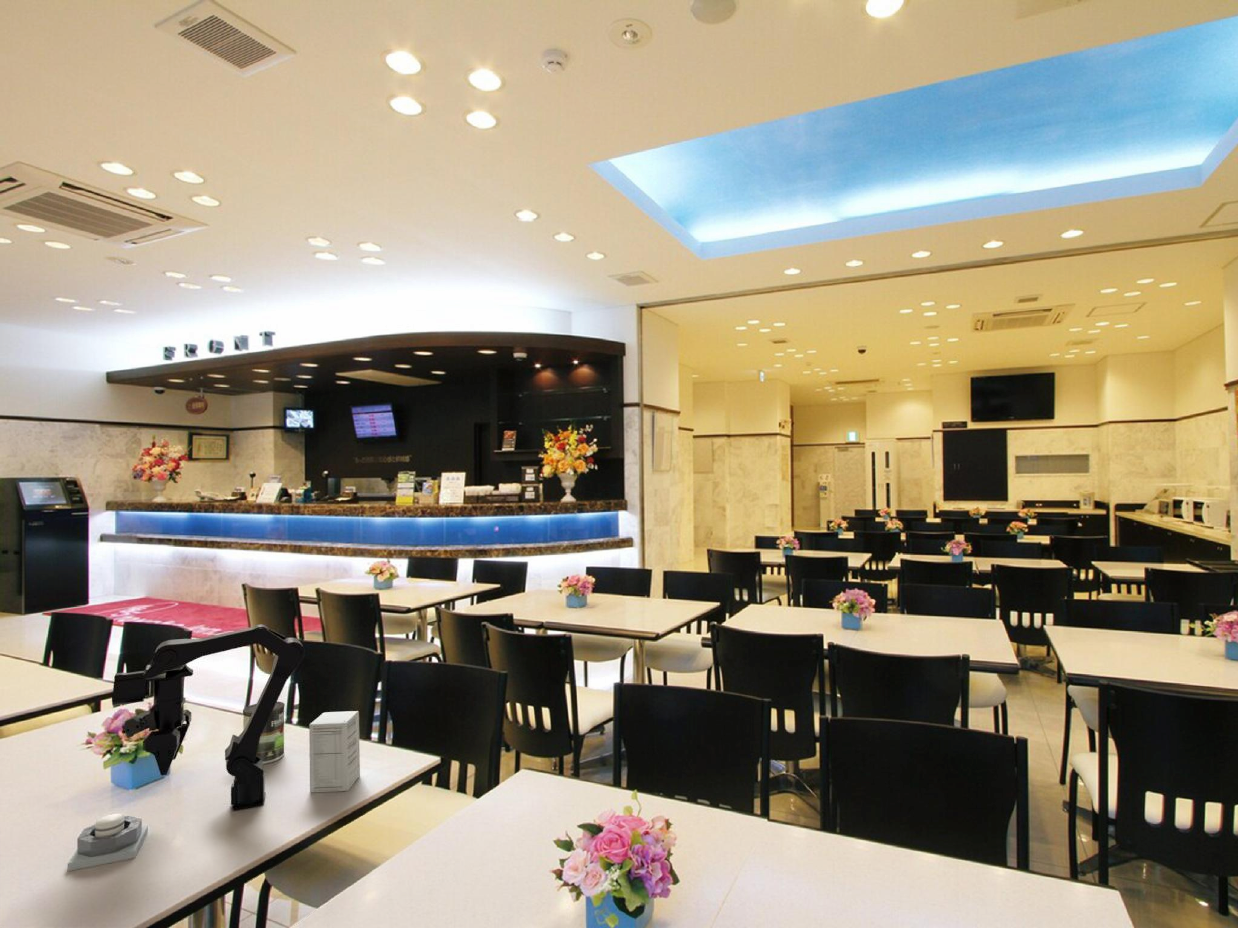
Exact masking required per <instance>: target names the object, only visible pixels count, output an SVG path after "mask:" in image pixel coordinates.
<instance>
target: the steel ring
mask: <svg viewBox="0 0 1238 928" xmlns="http://www.w3.org/2000/svg"><path fill="white" fill-rule="evenodd" d="M124 819H125V821H124V830H122V831H120V832H118V833H116V834H113V835H108V836H102V837H95V824H93V825H90V826H87V827H85V828H84V829H83V830H82V831H81V833H80V834H79V836H77V841H76V842H77V846H76V847H77V849H76V851H77V854H81V855H84V856H88V857H95V856H100V855H105V854H111V853H116V852H118V851H120V850H122V849H124V848H126V847H128V846H130V845H132V844H134V843H136V842H137V841H138V839H139V837H140V835H141V833H142V827H143V826H142V825H143V824H142V823H143V822H142V821H143V820H142V818H139V817H135V816H131V815H126V816H125V815H124Z"/></svg>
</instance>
